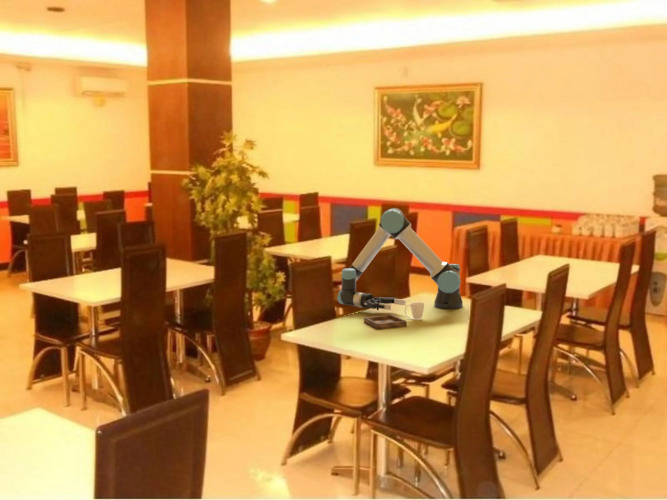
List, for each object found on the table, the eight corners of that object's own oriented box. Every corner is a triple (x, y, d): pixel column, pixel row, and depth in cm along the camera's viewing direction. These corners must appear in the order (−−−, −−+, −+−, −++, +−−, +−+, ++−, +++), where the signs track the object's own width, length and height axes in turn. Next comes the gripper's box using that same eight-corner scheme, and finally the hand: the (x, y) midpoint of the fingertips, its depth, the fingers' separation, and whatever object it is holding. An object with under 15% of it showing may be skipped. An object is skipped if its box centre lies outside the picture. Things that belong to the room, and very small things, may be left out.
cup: (422, 321, 349) (422, 305, 348) (402, 320, 352) (402, 304, 351) (425, 318, 355) (426, 302, 354) (406, 317, 359) (406, 301, 358)
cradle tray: (392, 319, 353) (392, 314, 353) (406, 326, 339) (406, 321, 339) (364, 322, 348) (364, 317, 348) (377, 329, 334) (377, 324, 333)
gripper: (377, 303, 382) (411, 308, 369) (349, 311, 362) (384, 316, 349) (377, 289, 381) (411, 293, 368) (349, 297, 361) (384, 301, 348)
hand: (398, 305), depth 359 cm, fingers open, 13 cm apart
